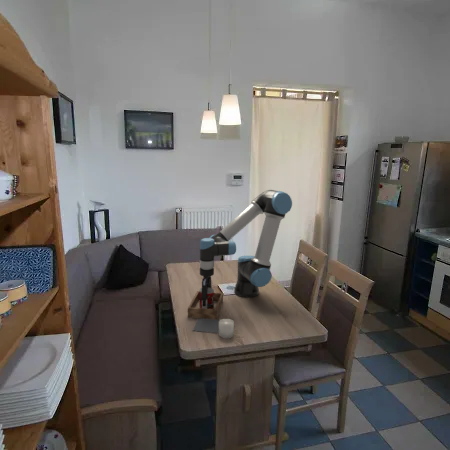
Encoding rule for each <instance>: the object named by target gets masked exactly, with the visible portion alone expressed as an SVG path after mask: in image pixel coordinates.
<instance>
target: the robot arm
mask: <svg viewBox="0 0 450 450" xmlns="http://www.w3.org/2000/svg"><path fill="white" fill-rule="evenodd" d="M292 206H293V200H292V197H291V196H290V195H289V194H288V193H287V192H286V191H285V192H284V191H280V190H274V189H267V190H265V191H262V193H260V194H259V195H257V196H256V197H254V199H253V200H251V203H250V204H249V205H248V206H247V207H246V208H245V209H244V210H243V211H242V212H241V213H239V214H238V215H237V216H236V217H234V218H233V219H232V221H230V222H229V223H228V224H227V225H226V226H225V227H224V228H222V229H221V230H220V231H219V232H218V233H216V234H212V235H210V237H204V238H202V239H200V241H199V261H198V263H199V275H200V277H203V278H201V279H202V281H201V288H202V293H201V299H200V300H202V308H205V309H207V292H208V287H210V288H212V277H213V276H214V273H215V268H214V267H215V257H224V256H233V255H235V254H236V253H237V244H236V242H235V241H234V240H232V238H234V237H235V236H236V235H238V234H239V233H240V232H241V231H242V230H243V229H244V228H245V227H246V226H248V224H250V223H251V222H252V221H253V220H254V219H256V218H257V217H258V216H259V215H262V214H264V215H265V217H264V221H263V225H262V229H261V232H260V237H259V240H258V242H257V247H256V251H255V254H254V255H242V256H239V257H238V258H237V279H236V283H235V286H234V287H233V288H234V289H233V291H234V292H235V293H234V295H236V296H238V297H242V298H254V297H257V296H258V295H259V293H260V289H259V288H262V287H265V286H266V285H268V284H269V283H270V282H271V280H272V275H273V274H272V272H271V267H272V263H271V261H270V259H271V256H272V253H273V249H274V246H275V242H276V238H277V235H278V231H279V229H280V225H281V221H282V220H283V219H285V218H286V214H288V213H289V212H290V211H291V209H292ZM212 289H213V288H212Z"/></svg>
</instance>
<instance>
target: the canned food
mask: <svg viewBox="0 0 450 450" xmlns="http://www.w3.org/2000/svg"><path fill="white" fill-rule="evenodd" d="M214 292H215V289H214V288H210V287H208V292H207V309H215V308H214V306H215V305H214V304H215V301H214ZM201 293H202V287H201V288H199V301H198V303H199V304H198V305H199V307H198V308H202V300H200V299H201Z"/></svg>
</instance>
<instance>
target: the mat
mask: <svg viewBox="0 0 450 450" xmlns="http://www.w3.org/2000/svg"><path fill="white" fill-rule="evenodd" d="M220 320H221V319H217V320H216V319H204V318H196V322H195V324H194V326H193V328H192V332H199V333H211V334H219V321H220Z"/></svg>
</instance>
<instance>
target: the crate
mask: <svg viewBox="0 0 450 450" xmlns="http://www.w3.org/2000/svg"><path fill="white" fill-rule="evenodd" d="M214 302H216V303H217V304H216V307H215V308H213V309H205V308H199V307H197V305H198V303H199V291H196V293H195V295H194V296H193V298H192V300H191V302H190V303H189V306H188V307H187V318H192V319H194V318H195V319H198V318H201V319H213V320H218V317H219V316H220V315H219V314H220V311H221V308H222V306H223V303H224V293H223V292H215V291H214Z"/></svg>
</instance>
